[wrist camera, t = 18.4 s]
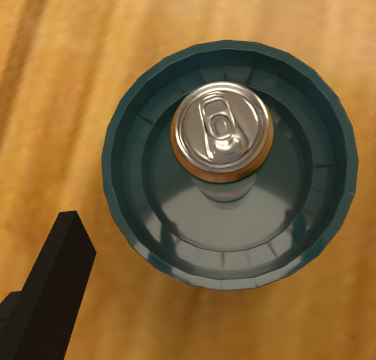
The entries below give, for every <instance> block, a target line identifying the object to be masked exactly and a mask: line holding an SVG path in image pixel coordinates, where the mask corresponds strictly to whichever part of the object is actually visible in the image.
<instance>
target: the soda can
mask: <svg viewBox="0 0 376 360" xmlns="http://www.w3.org/2000/svg"><path fill="white" fill-rule="evenodd" d="M274 134H275V130H274V122H273V119H272V116H271V113H270V111H269V109H268V107H267V106H266V105H265V103H264V102H263V101H262V100H261V99H260V98H259V97H258V96H257V95H256V94H255V93H254V92H252V91H251V90H249V89H248V88H246V87H244V86H242V85H240V84H237V83H234V82H228V81H217V82H211V83H208V84H204V85H202V86H200V87H198V88H197V89H195V90H193V91H192V92H191V93H190V94H189V95H187V96H186V98H185V99H184V100H183V101H182V103H181V104H180V105H179V106H178V108H177V110H176V111H175V113H174V116H173V118H172V121H171V125H170V134H169V135H170V144H171V149H172V152H173V154H174V156H175V158H176V160H177V162H178V163H179V165H180V166H181V167H182V168H183V170H184V171H185V172H186V173H187V175H188V176H189V177H190V178H191V180H192V181H193V182H194V183H195V185H196V186H197V187H198V188H199V190H200V191H201V192H202V193H203V194H205V195H206V196H207V197H209V198H211V199H213V200H216V201H223V202H227V201H233V200H236V199H239V198H241V197H242V196H244V195H245V194H246V193H247V192H248V191H249V190H250V189H251V188H252V186H253V184H254V183H255V181H256V179H257V177H258V175H259V173H260V172H261V170H262V168H263V166H264V164H265V162H266V160H267V159H268V157H269V155H270V152H271V150H272V147H273V143H274Z"/></svg>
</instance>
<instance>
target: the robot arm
mask: <svg viewBox="0 0 376 360" xmlns="http://www.w3.org/2000/svg"><path fill="white" fill-rule="evenodd" d="M95 256H96V251H95V249H94V246H93V244H92V242H91V240H90V238H89V236H88V234H87V232H86V230H85V228H84V226H83V224H82V222H81V219H80V217H79V215H78V213H77V211H67V212H59V215H58V217H57V219H56V221H55V223H54V225H53V227H52V229H51V231H50V233H49V235H48V237H47V239H46V241H45V243H44V245H43V247H42V249H41V252H40V254H39V256H38V258H37V260H36V262H35V264H34V266H33V268H32V270H31V272H30V274H29V276H28V278H27V280H26V282H25V284H24V287H23V289H22V291H15V292H11V293H10V294H9V295H8V296H7V297H6V298H5V299H4V300H3V301H2V302H1V304H0V360H64V357H65V354H66V350H67V347H68V344H69V341H70V337H71V334H72V331H73V328H74V324H75V321H76V318H77V315H78V311H79V308H80V305H81V302H82V298H83V295H84V292H85V289H86V285H87V282H88V279H89V276H90V272H91V269H92V266H93V263H94V259H95Z"/></svg>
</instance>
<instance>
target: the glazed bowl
mask: <svg viewBox="0 0 376 360" xmlns="http://www.w3.org/2000/svg"><path fill="white" fill-rule="evenodd" d="M217 81H228V82H234V83H237V84H240V85H242V86H244V87H246V88H248V89H249V90H251V91H252V92H254V93H255V94H256V95H257V96H258V97H259V98H260V99H261V100H262V101H263V102H264V103H265V105H266V106H267V107H268V109H269V111H270V113H271V116H272V119H273V122H274V130H275V134H274V143H273V147H272V150H271V152H270V155H269V157H268V159H267V160H266V162H265V164H264V166H263V168H262V170H261V172H260V173H259V175H258V177H257V179H256V181H255V183H254V184H253V186H252V188H251V189H250V190H249V191H248V192H247V193H246V194H245V195H244V196H242V197H241V198H239V199H236V200H233V201H227V202H223V201H216V200H213V199H211V198H209V197H207V196H206V195H205V194H203V193H202V192H201V191H200V190H199V188H198V187H197V186H196V185H195V183H194V182H193V181H192V180H191V178H190V177H189V176H188V175H187V173H186V172H185V171H184V170H183V168H182V167H181V166H180V165H179V163H178V162H177V160H176V158H175V156H174V154H173V152H172V149H171V144H170V135H169V134H170V125H171V121H172V118H173V116H174V113H175V111H176V110H177V108H178V106H179V105H180V104H181V103H182V101H183V100H184V99H185V98H186V96H187V95H189V94H190V93H191V92H192V91H193V90H195V89H197V88H198V87H200V86H202V85H204V84H208V83H211V82H217ZM358 161H359V160H358V154H357V149H356V143H355V138H354V132H353V127H352V124H351V122H350V120H349V118H348V116H347V114H346V112H345V110H344V108H343V106H342V104H341V102H340V100H339V98H338V96H337V95H336V94H335V92H334V91H333V90H332V89H331V88H330V87H329V86H328V85H327V83H326V82H325V81H324V80H323V79H322V78H321V77H320V76H319V74H318V73H317V72H315V70H314V69H312V68H311V67H309V66H308V65H306V64H305V63H303V62H301V61H300V60H298V59H297V58H295V57H294V56H292V55H291V54H289V53H287V52H284V51H281V50H278V49H276V48H273V47H270V46H267V45H264V44H261V43H257V42H247V41H235V40H221V41H215V42H209V43H203V44H196V45H195V46H194V45H193V46H191V47H189V48H186V49H184V50H181V51H179V52H177V53H174V54H172V55H170V56H167V57H166V58H164V59H162V60H161V61H160V62H158V63H157V64H156V65H154V66H153V67H152V68H150V69H149V70H148V71H146V72H145V73H144V74H142V75H141V76H140V77H139V78H138V79H137V80H136V82H135V83H134V84H133V85H132V86H131V88H130V89H129V90H128V91H127V92H126V94H125V95H124V96H123V97H122V99H121V100H120V102H119V104H118V107H117V109H116V111H115V113H114V115H113V117H112V119H111V121H110V123H109V125H108V128H107V132H106V137H105V142H104V147H103V152H102V175H103V189H104V193H105V196H106V199H107V202H108V205H109V208H110V211H111V214H112V217H113V219H114V221H115V223H116V225H117V226H118V228H119V229H120V231H121V232H122V234H123V235H124V237H125V238H126V240H127V241H128V243H129V244H130V246H132V248H133V249H134V250H135V251H136V252H137V253H139V254H140V255H141V256H142V257H143V258H144V259H145V260H146V261H148V262H149V263H150V264H151V265H152V266H153V267H154V268H157V270H159V271H161V272H163V273H165V274H167V275H169V276H171V277H173V278H175V279H177V280H179V281H181V282H183V283H185V284H188V285H193V286H198V287H203V288H209V289H214V290H219V291H227V290H240V289H253V288H258V287H261V286H264V285H267V284H269V283H272V282H275V281H278V280H280V279H283V278H286V277H289V276H290V275H293V274H294V273H295V272H297V271H298V270H299V269H301V268H302V267H304V266H305V265H306V264H308V263H309V262H310V261H312V260H313V259H315V258H316V257H317V256H319V254H321V252H322V251H323V250H324V249H325V247H326V246H327V245H328V244H329V242H330V241H331V240H332V238H333V237H334V236H335V235H336V233H337V232H338V231H339V230H340V228H341V226H342V225H343V222H344V220H345V217H346V215H347V212H348V210H349V207H350V205H351V203H352V200H353V198H354V194H355V190H356V180H357V171H358Z"/></svg>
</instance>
